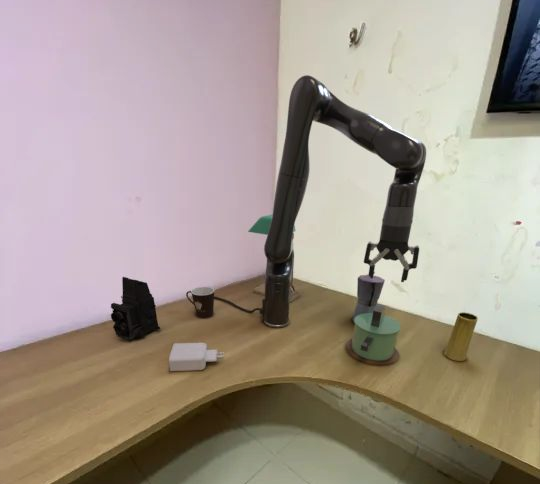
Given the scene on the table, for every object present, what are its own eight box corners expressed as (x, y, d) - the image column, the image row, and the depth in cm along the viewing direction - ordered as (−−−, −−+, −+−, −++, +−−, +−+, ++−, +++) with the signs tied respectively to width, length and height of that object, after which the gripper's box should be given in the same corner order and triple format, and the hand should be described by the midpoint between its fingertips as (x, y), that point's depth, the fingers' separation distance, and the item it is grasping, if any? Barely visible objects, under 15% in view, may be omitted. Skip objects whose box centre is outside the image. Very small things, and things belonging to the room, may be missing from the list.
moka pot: (373, 314, 125) (382, 266, 116) (381, 332, 111) (392, 280, 102) (349, 312, 126) (356, 265, 117) (354, 331, 112) (363, 278, 103)
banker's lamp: (286, 304, 131) (290, 220, 116) (246, 293, 142) (245, 214, 126) (303, 293, 143) (309, 215, 128) (266, 284, 154) (267, 210, 138)
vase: (463, 353, 100) (477, 313, 94) (467, 363, 95) (482, 322, 89) (442, 349, 102) (454, 310, 96) (445, 359, 97) (458, 318, 91)
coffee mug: (220, 315, 121) (218, 291, 117) (200, 321, 116) (198, 297, 112) (205, 305, 129) (203, 283, 125) (186, 311, 124) (183, 287, 120)
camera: (110, 339, 103) (96, 282, 94) (142, 323, 114) (132, 270, 105) (131, 347, 99) (119, 289, 90) (162, 329, 110) (154, 275, 101)
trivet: (339, 354, 98) (339, 353, 97) (355, 334, 110) (355, 332, 110) (391, 372, 90) (392, 370, 90) (402, 347, 102) (403, 346, 102)
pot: (357, 334, 108) (364, 295, 102) (398, 346, 102) (408, 305, 95) (338, 360, 93) (344, 317, 87) (384, 376, 87) (394, 330, 81)
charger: (223, 370, 89) (170, 373, 88) (224, 353, 97) (176, 355, 96) (223, 357, 87) (168, 359, 86) (224, 340, 95) (174, 341, 94)
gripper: (424, 222, 85) (412, 278, 92) (370, 219, 90) (363, 273, 96) (426, 227, 78) (413, 287, 85) (368, 223, 83) (360, 280, 90)
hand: (386, 279), depth 91 cm, fingers open, 8 cm apart
